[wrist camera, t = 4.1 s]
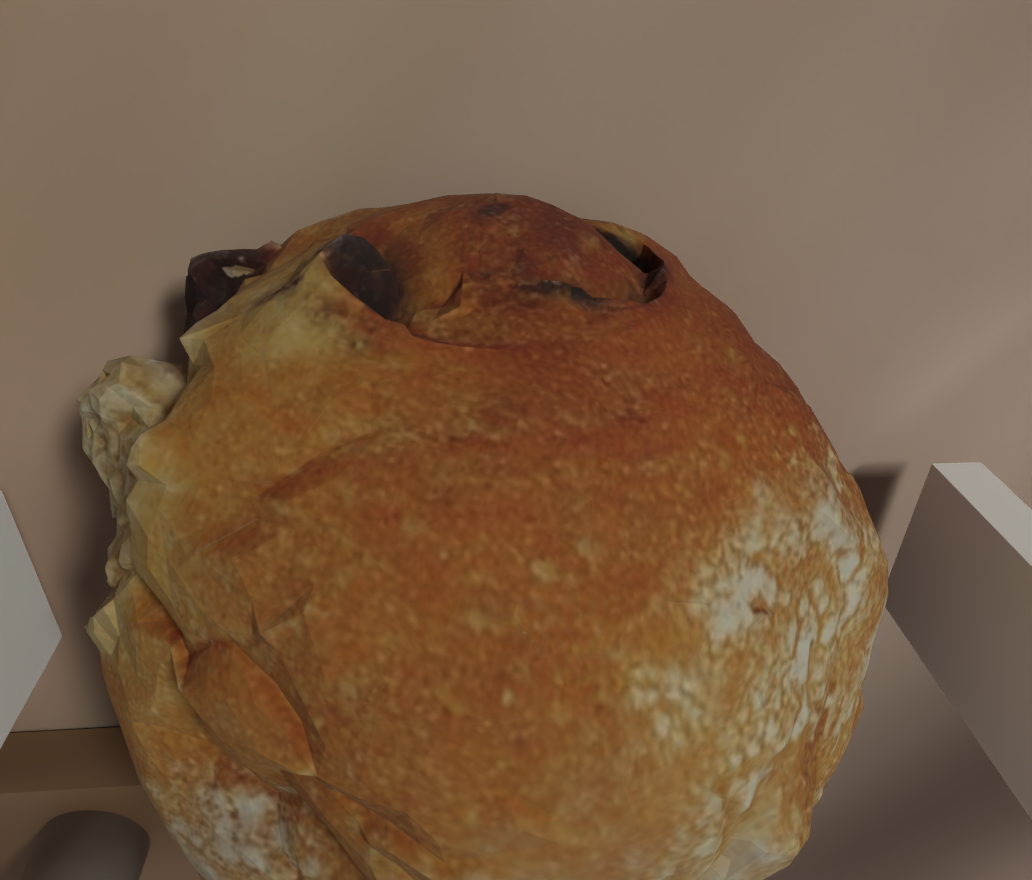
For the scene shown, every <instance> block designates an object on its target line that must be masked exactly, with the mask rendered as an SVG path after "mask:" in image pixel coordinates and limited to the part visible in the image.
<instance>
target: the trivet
mask: <svg viewBox="0 0 1032 880" xmlns="http://www.w3.org/2000/svg"><path fill="white" fill-rule="evenodd" d="M0 880H206V879H205V878H204V877H203V876H202V875H201V874H200V873H199V872H198V871H197V870H196V869H195V868H194V866H193V865H192V864H191V862H190V861H189V860H188V858H187V857H186V856H185V854H184V853H183V852H182V850H181V849H180V847H179V846H178V845H177V843H176V842H175V841H174V839H173V838H172V837H171V835H170V833H169V832H168V830H167V828H166V826H165V825H164V823H163V821H162V820H161V818H160V816H159V814H158V813H157V811H156V809H155V808H154V806H153V804H152V802H151V801H150V799H149V797H148V795H147V793H146V791H145V789H144V788H143V786H142V784H141V782H140V780H139V778H138V776H137V773H136V770H135V767H134V764H133V761H132V758H131V756H130V753H129V750H128V747H127V744H126V741H125V738H124V735H123V732H122V730H121V727H111V728H93V729H75V730H56V731H38V732H20V733H9V734H8V736H7V738H6V740H5V741H4V743H3V745H2V747H1V749H0Z"/></svg>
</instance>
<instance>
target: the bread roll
mask: <svg viewBox="0 0 1032 880" xmlns="http://www.w3.org/2000/svg"><path fill="white" fill-rule="evenodd" d="M185 301H186V306H187V311H188V315H187V320H186V324H185V329H184V332H185V334H184V335H182V336H181V337H180V338H179V339H180V341H181V343H182V344H183V346H184V348H185V350H186V352H187V353H188V355H189V359H188V360H187V361H186V362H185V364H178V363H172V362H165V361H159V360H153V359H147V358H141V357H135V356H127V357H123V358H118V359H114V360H110V361H107V363H106V365H105V367H104V369H103V371H102V373H101V376H100V377H99V378H98V379H97V380H96V381H95V382H94V383H93V384H92V385H91V386H90V387H89V388H88V389H87V390H86V391H85V392H84V393H83V394H81V395H80V396H79V397H78V398H77V403H78V407H79V411H80V415H81V419H82V446H83V450H84V451H85V453H86V454H87V456H88V457H89V459H90V460H91V462H92V463H93V465H94V466H95V468H96V469H97V471H98V473H99V475H100V477H101V478H102V480H103V481H104V483H105V484H106V485H107V487H108V488H109V497H110V504H111V512H112V518H113V519H115V520H116V521H117V525H116V537H115V538H114V540H113V541H112V543H111V544H110V546H109V547H108V549H107V550H108V560H107V563H106V566H105V571H106V574H107V577H108V579H107V583H108V584H109V585H110V587H112V589H111V591H110V593H109V595H108V596H107V598H106V599H105V600H104V601H103V603H102V604H101V605H100V606H99V608H98V609H97V611H96V614H95V615H94V616H91V617H90V619H89V622H88V623H87V624H86V625H85V626H84V628H85V629H86V631H87V633H88V634H89V636H90V637H91V639H92V640H93V642H94V643H95V645H96V646H97V648H98V649H99V651H100V657H101V666H102V674H103V677H104V681H105V684H106V687H107V691H108V694H109V697H110V700H111V702H112V705H113V708H114V711H115V713H116V716H117V719H118V721H119V724H120V727H121V730H122V732H123V735H124V738H125V741H126V744H127V747H128V750H129V753H130V756H131V758H132V761H133V764H134V767H135V770H136V773H137V776H138V778H139V780H140V782H141V784H142V786H143V788H144V789H145V791H146V793H147V795H148V797H149V799H150V801H151V802H152V804H153V806H154V808H155V809H156V811H157V813H158V814H159V816H160V818H161V820H162V821H163V823H164V825H165V826H166V828H167V830H168V832H169V833H170V835H171V837H172V838H173V839H174V841H175V842H176V843H177V845H178V846H179V847H180V849H181V850H182V852H183V853H184V854H185V856H186V857H187V858H188V860H189V861H190V862H191V864H192V865H193V866H194V868H195V869H196V870H197V871H198V872H199V873H200V874H201V875H202V876H203V877H204V878H205V879H206V880H764V879H765V878H767V877H769V876H771V875H773V874H774V873H776V872H778V871H780V870H782V869H784V868H785V867H787V866H789V865H791V863H792V862H793V860H794V859H795V857H796V856H797V854H798V853H799V851H800V850H801V849H802V847H803V846H804V844H805V843H806V841H807V840H808V838H809V837H810V828H811V819H812V810H813V807H814V806H815V804H816V803H817V802H818V801H819V800H820V798H821V796H822V793H823V790H824V788H825V785H826V782H827V780H828V779H829V778H830V776H831V775H832V774H833V772H834V771H835V770H836V768H837V766H838V764H839V762H840V760H841V759H842V757H843V755H844V753H845V751H846V749H847V746H848V744H849V741H850V739H851V736H852V734H853V732H854V729H855V727H856V724H857V722H858V719H859V717H860V714H861V712H862V709H863V699H862V690H861V688H862V685H863V682H864V679H865V676H866V673H867V670H868V666H869V661H870V657H871V652H872V647H873V642H874V639H875V636H876V633H877V629H878V626H879V624H880V621H881V619H882V616H883V614H884V611H885V606H886V601H887V597H888V560H887V557H886V555H885V552H884V549H883V547H882V544H881V541H880V539H879V536H878V534H877V532H876V529H875V527H874V524H873V522H872V520H871V517H870V515H869V512H868V510H867V507H866V504H865V501H864V499H863V496H862V493H861V490H860V488H859V487H858V485H857V483H856V481H855V479H854V478H853V476H852V475H850V474H849V473H848V472H847V471H846V470H845V468H844V467H843V465H842V464H841V462H840V460H839V458H838V456H837V453H836V451H835V449H834V448H833V446H832V444H831V442H830V441H829V439H828V437H827V435H826V434H825V432H824V430H823V428H822V427H821V425H820V423H819V421H818V420H817V418H816V416H815V414H814V413H813V411H812V409H811V407H810V406H808V405H807V404H806V402H805V400H804V399H803V397H802V395H801V393H800V391H799V389H798V388H797V386H796V385H795V384H794V382H793V381H792V380H791V378H790V377H789V376H788V375H787V373H786V372H785V371H784V369H783V368H782V367H781V365H780V364H779V363H778V362H777V361H775V360H774V359H773V358H772V357H771V356H770V355H769V354H768V353H766V352H765V351H764V350H763V349H762V348H761V347H760V346H758V345H757V344H756V343H755V342H754V340H753V339H752V337H751V336H750V334H749V333H748V331H747V330H746V328H745V327H744V325H743V324H742V323H741V321H740V320H739V318H738V317H737V315H736V314H735V313H734V312H733V311H732V310H731V309H730V308H729V307H728V306H727V305H725V304H724V303H723V302H722V301H720V300H719V299H718V298H716V297H715V296H714V295H713V294H711V293H710V292H709V291H707V290H706V289H705V288H703V287H702V286H701V285H700V284H698V283H697V282H696V281H695V280H694V279H693V278H692V277H691V276H690V275H689V274H688V272H687V271H686V270H685V268H684V267H683V265H682V264H681V262H680V261H679V259H678V258H677V257H676V256H675V255H674V254H672V253H671V252H669V251H668V250H666V249H665V248H664V247H662V246H661V245H659V244H658V243H656V242H655V241H653V240H652V239H651V238H649V237H648V236H645V235H643V234H641V233H639V232H637V231H634V230H631V229H629V228H626V227H623V226H620V225H618V224H615V223H612V222H605V221H597V220H589V219H581V218H578V217H576V216H574V215H571V214H569V213H567V212H565V211H563V210H561V209H559V208H557V207H555V206H553V205H551V204H548V203H545V202H543V201H540V200H537V199H534V198H531V197H529V196H524V195H506V194H498V193H494V194H468V195H447V196H442V197H438V198H433V199H429V200H424V201H419V202H415V203H411V204H405V205H398V206H392V207H385V208H366V209H357V210H354V211H351V212H348V213H345V214H342V215H339V216H336V217H333V218H330V219H327V220H324V221H321V222H319V223H316V224H313V225H311V226H308V227H306V228H303V229H301V230H298V231H296V232H295V233H294V234H293V235H292V236H291V237H290V238H288V239H287V240H286V241H285V242H284V243H283V244H282V245H281V246H280V245H278V244H277V243H275V242H273V241H270V242H269V243H267V244H265V245H264V246H262V247H260V248H259V249H257V250H256V249H236V250H220V251H214V252H208V253H203V254H200V255H198V256H195V257H193V258H191V261H190V264H189V267H188V276H186V287H185Z"/></svg>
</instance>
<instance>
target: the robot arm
mask: <svg viewBox="0 0 1032 880" xmlns="http://www.w3.org/2000/svg"><path fill="white" fill-rule="evenodd" d="M885 607H886V609H887V610H888V612H889V613H890V614H891V616H892V617H893V619H894V620H895V622H896V623H897V625H898V626H899V628H900V629H901V630H902V632H903V633H904V635H905V636H906V638H907V639H908V641H909V642H910V644H911V645H912V647H913V648H914V649H915V651H916V652H917V654H918V655H919V657H920V658H921V660H922V661H923V663H924V664H925V666H926V667H927V668H928V670H929V671H930V673H931V674H932V676H933V677H934V679H935V680H936V682H937V683H938V684H939V686H940V687H941V689H942V690H943V692H944V693H945V695H946V696H947V698H948V699H949V701H950V702H951V703H952V705H953V706H954V708H955V709H956V711H957V712H958V714H959V715H960V717H961V718H962V720H963V721H964V722H965V724H966V725H967V727H968V728H969V730H970V731H971V733H972V734H973V736H974V737H975V738H976V740H977V741H978V743H979V744H980V746H981V747H982V749H983V750H984V752H985V753H986V755H987V756H988V757H989V759H990V760H991V762H992V763H993V765H994V766H995V768H996V769H997V771H998V772H999V773H1000V775H1001V776H1002V778H1003V779H1004V781H1005V782H1006V784H1007V785H1008V787H1009V788H1010V790H1011V791H1012V792H1013V794H1014V795H1015V797H1016V798H1017V800H1018V801H1019V803H1020V804H1021V806H1022V807H1023V809H1024V810H1025V811H1026V813H1027V814H1028V816H1029V817H1030V819H1031V820H1032V510H1031V509H1030V508H1029V507H1028V506H1027V505H1026V504H1025V503H1024V502H1023V501H1022V500H1021V499H1020V498H1019V497H1017V496H1016V495H1015V494H1014V493H1013V492H1012V491H1011V490H1010V489H1009V488H1008V487H1007V486H1006V485H1005V484H1004V483H1003V482H1001V481H1000V480H999V479H998V478H997V477H996V476H995V475H994V474H993V473H992V472H991V471H990V470H989V469H988V468H986V467H985V466H984V465H983V464H982V463H981V462H972V463H938V464H932V466H931V468H930V471H929V473H928V476H927V479H926V481H925V484H924V487H923V489H922V492H921V494H920V497H919V500H918V502H917V505H916V507H915V510H914V513H913V515H912V518H911V521H910V523H909V526H908V528H907V531H906V534H905V536H904V539H903V542H902V544H901V547H900V549H899V552H898V555H897V557H896V560H895V563H894V565H893V568H892V570H891V573H890V576H889V578H888V597H887V601H886V606H885ZM61 638H62V635H61V632H60V630H59V627H58V625H57V622H56V620H55V618H54V615H53V613H52V610H51V608H50V606H49V603H48V601H47V598H46V596H45V594H44V591H43V589H42V586H41V584H40V582H39V579H38V577H37V574H36V572H35V570H34V567H33V565H32V562H31V560H30V557H29V555H28V553H27V550H26V548H25V545H24V543H23V541H22V538H21V536H20V533H19V531H18V529H17V526H16V524H15V521H14V519H13V517H12V514H11V512H10V509H9V507H8V505H7V502H6V500H5V497H4V495H3V492H2V491H0V749H1V747H2V745H3V743H4V741H5V740H6V738H7V736H8V734H9V732H10V731H11V729H12V727H13V725H14V723H15V721H16V720H17V718H18V716H19V714H20V712H21V711H22V709H23V707H24V705H25V703H26V702H27V700H28V698H29V696H30V694H31V692H32V691H33V689H34V687H35V685H36V683H37V682H38V680H39V678H40V676H41V674H42V673H43V671H44V669H45V667H46V665H47V664H48V662H49V660H50V658H51V656H52V654H53V653H54V651H55V649H56V647H57V645H58V644H59V642H60V640H61Z"/></svg>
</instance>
